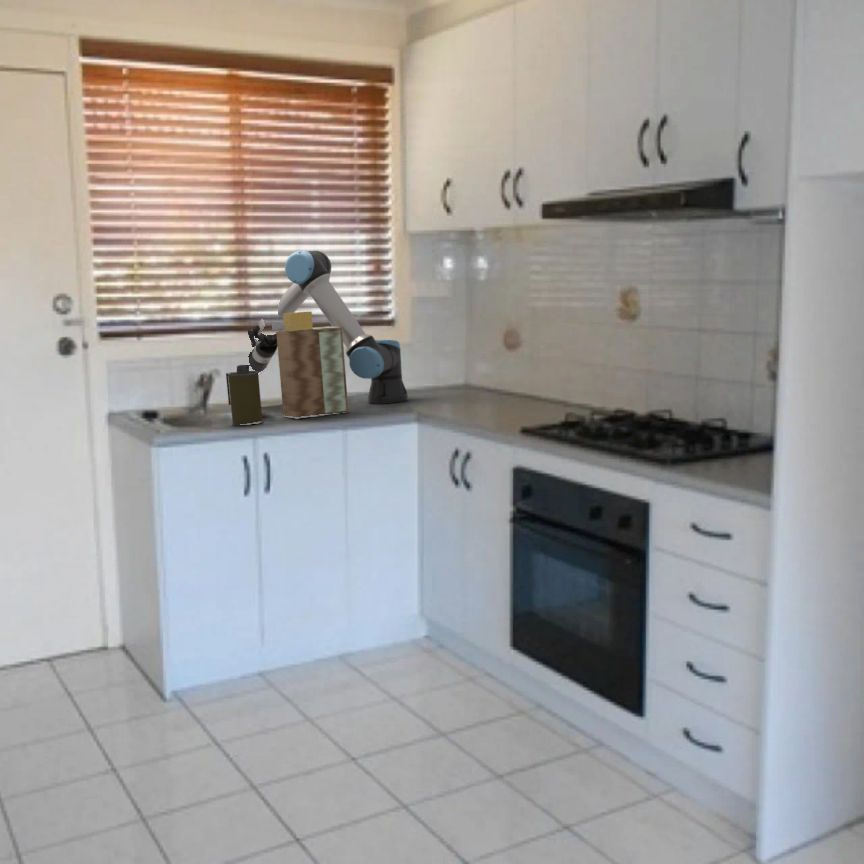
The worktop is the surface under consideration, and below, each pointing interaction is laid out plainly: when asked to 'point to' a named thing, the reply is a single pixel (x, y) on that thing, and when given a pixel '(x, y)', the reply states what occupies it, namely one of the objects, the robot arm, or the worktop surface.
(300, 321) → the handle bar
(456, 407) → the worktop surface
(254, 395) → the canister
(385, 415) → the worktop surface
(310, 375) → the wood grain box
